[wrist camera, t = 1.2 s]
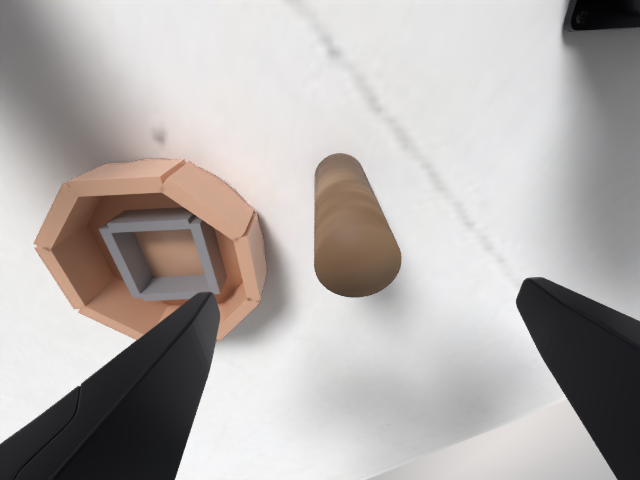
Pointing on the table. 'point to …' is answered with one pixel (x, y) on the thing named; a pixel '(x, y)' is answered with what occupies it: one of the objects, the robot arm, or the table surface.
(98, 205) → the tan polygonal bowl
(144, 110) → the table surface
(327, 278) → the wooden dowel rod
